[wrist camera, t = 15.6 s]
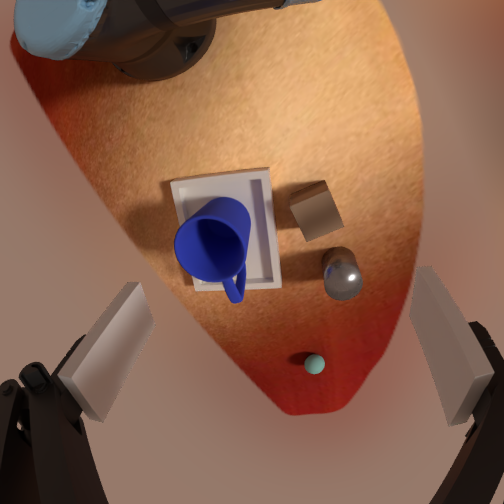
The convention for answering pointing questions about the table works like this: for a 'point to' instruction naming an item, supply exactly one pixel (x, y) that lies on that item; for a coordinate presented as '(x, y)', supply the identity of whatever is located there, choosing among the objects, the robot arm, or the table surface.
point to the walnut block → (315, 211)
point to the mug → (216, 245)
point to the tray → (260, 210)
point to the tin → (341, 274)
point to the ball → (314, 364)
